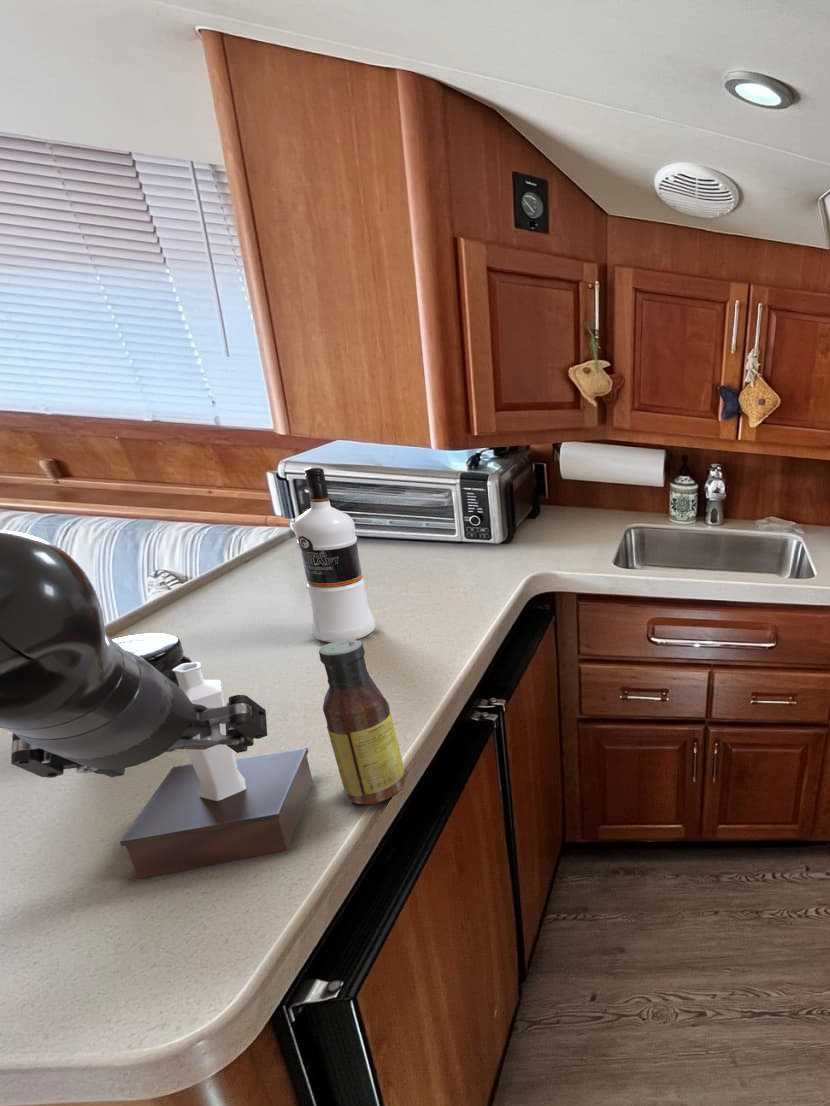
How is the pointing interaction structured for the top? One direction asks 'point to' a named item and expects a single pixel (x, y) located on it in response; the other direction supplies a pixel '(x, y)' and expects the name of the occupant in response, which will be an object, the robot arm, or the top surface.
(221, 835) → the box
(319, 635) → the vodka
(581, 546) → the top surface
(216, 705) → the white faceted vase
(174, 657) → the supplement container
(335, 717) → the sauce bottle
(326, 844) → the top surface
